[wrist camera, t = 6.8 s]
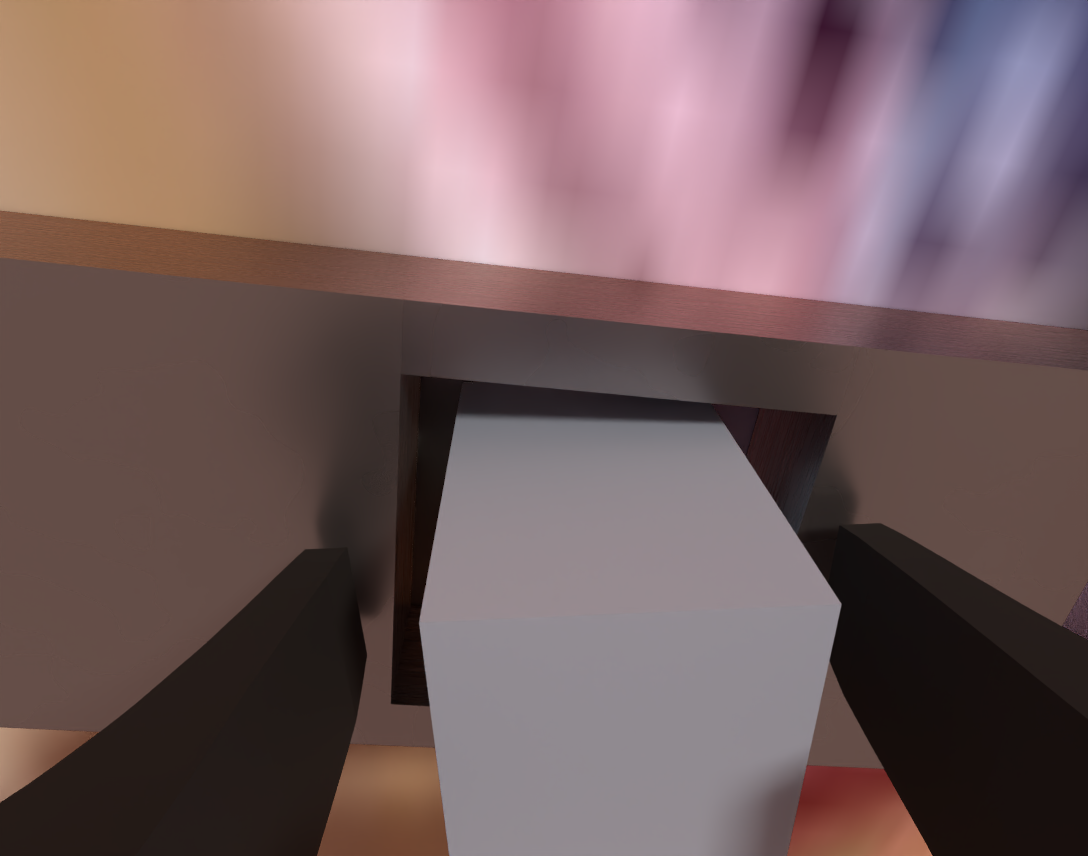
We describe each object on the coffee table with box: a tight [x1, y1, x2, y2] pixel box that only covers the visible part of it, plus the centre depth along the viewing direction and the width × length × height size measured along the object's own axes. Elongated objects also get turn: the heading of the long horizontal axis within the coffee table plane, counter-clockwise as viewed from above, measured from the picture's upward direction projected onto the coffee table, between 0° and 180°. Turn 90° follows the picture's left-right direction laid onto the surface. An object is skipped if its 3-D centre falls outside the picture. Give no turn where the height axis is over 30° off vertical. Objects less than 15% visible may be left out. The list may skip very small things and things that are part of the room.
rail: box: [0, 211, 1088, 769], centre depth 12 cm, size 28×8×2 cm, turn 83°
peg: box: [419, 382, 841, 856], centre depth 10 cm, size 4×4×6 cm
